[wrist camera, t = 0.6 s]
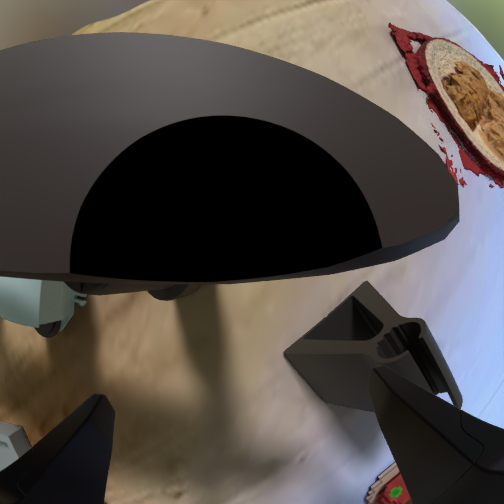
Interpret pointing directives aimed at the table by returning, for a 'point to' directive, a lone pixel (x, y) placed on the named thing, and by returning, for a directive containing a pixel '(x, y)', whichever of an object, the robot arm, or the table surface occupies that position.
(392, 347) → the phone stand
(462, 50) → the plate with food
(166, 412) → the table surface
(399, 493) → the cake
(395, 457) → the robot arm
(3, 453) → the tray
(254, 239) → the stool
